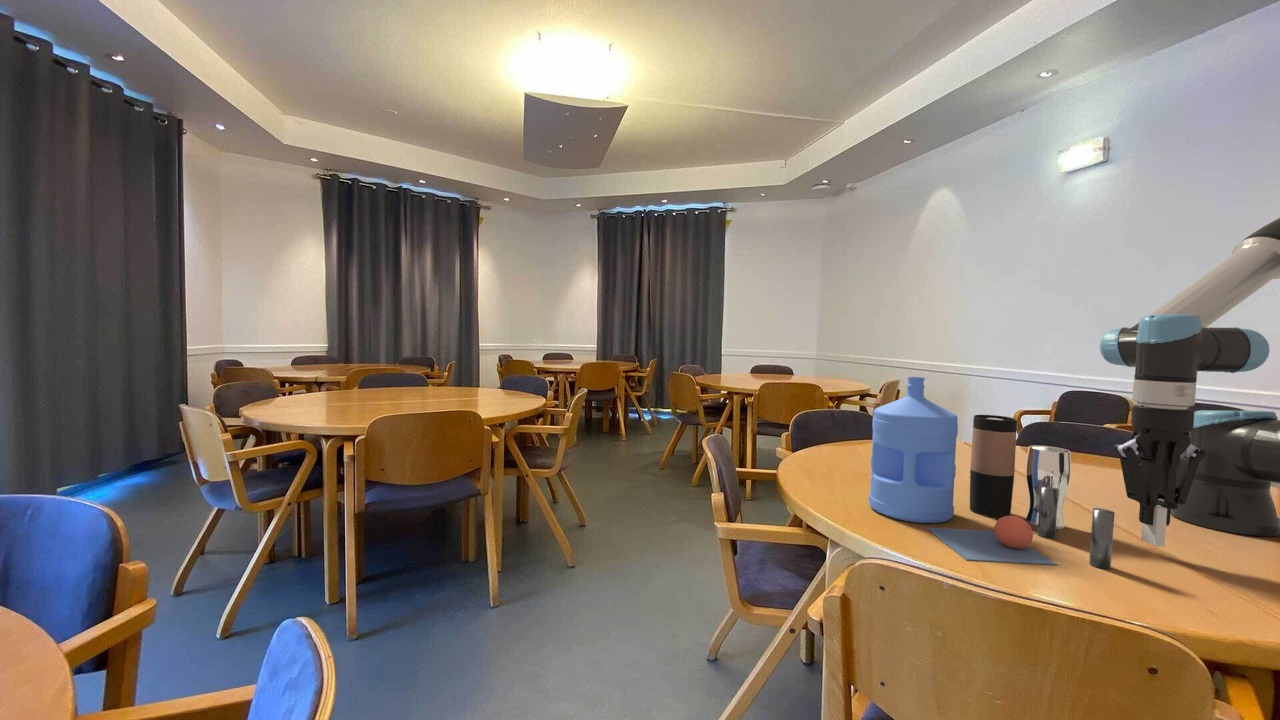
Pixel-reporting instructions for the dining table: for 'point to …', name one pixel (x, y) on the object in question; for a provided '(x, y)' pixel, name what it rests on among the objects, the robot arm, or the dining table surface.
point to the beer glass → (1047, 478)
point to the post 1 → (1047, 512)
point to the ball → (1013, 532)
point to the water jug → (913, 458)
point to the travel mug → (992, 465)
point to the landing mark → (987, 547)
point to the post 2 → (1101, 538)
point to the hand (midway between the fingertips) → (1152, 543)
